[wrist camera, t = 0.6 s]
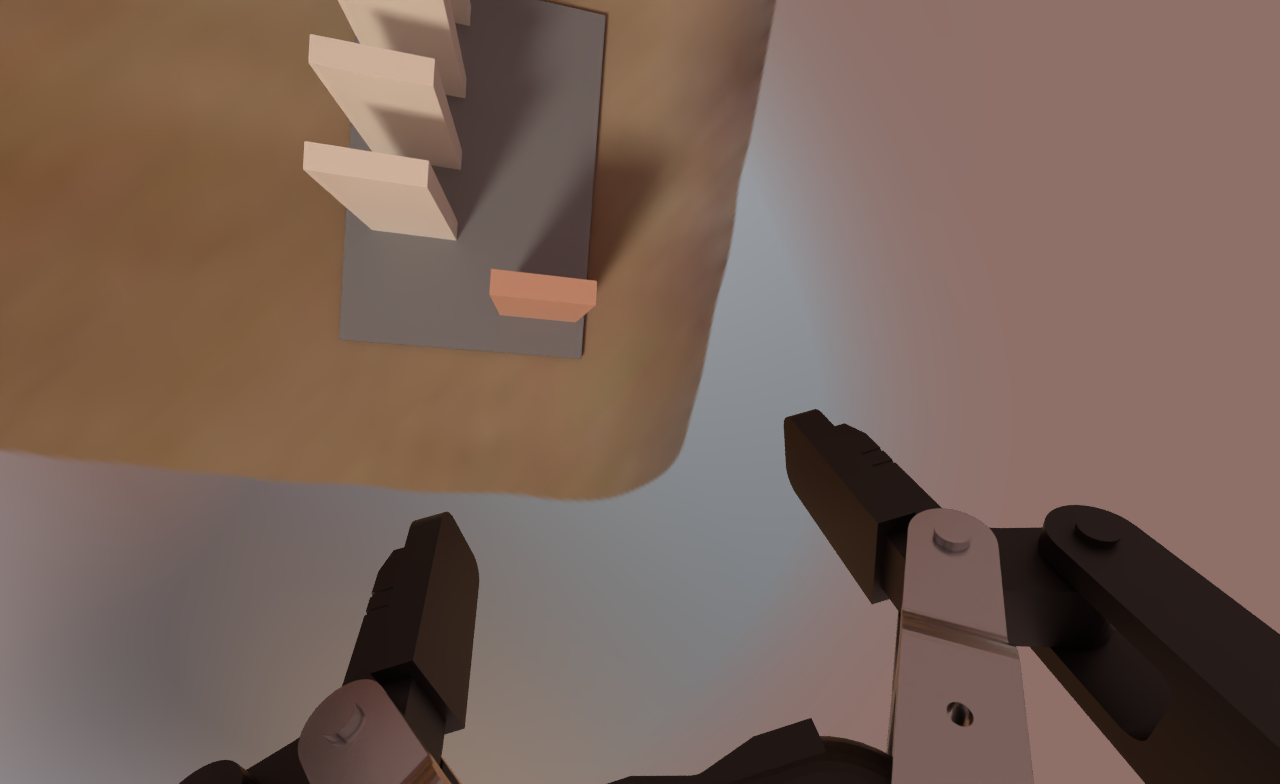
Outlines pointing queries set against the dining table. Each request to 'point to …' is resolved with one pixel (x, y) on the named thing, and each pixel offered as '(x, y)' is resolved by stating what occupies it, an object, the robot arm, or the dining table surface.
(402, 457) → the dining table surface
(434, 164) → the domino
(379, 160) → the domino
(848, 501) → the robot arm
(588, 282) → the terracotta tile
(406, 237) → the mat
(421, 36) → the domino
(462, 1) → the domino
